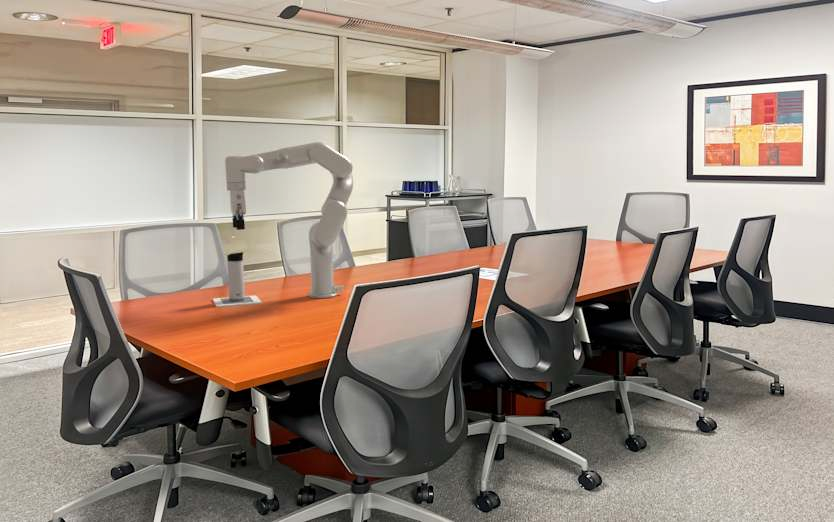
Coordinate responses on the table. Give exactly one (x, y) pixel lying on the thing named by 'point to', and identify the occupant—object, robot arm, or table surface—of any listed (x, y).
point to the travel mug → (236, 277)
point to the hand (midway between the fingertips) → (238, 228)
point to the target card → (225, 302)
